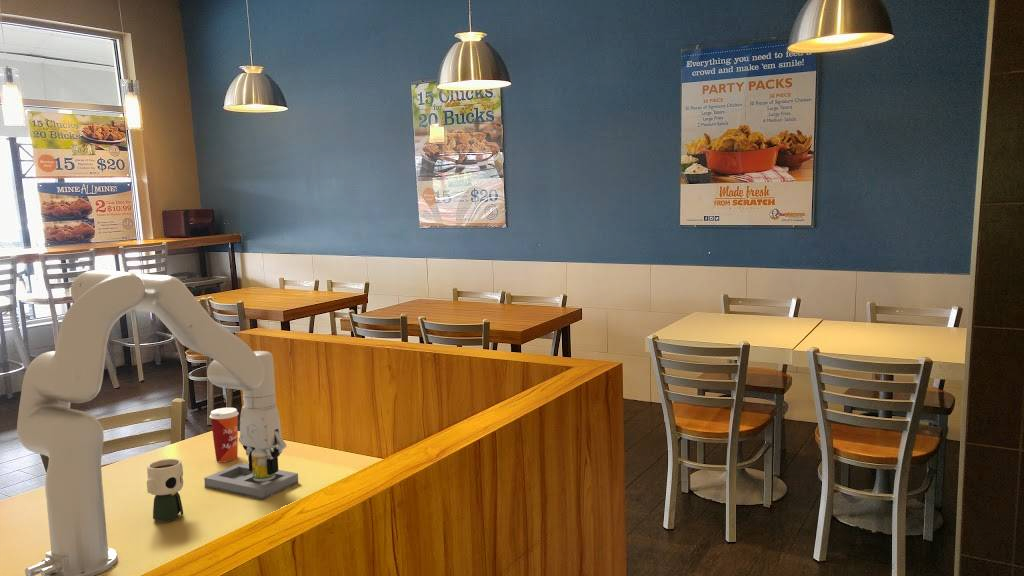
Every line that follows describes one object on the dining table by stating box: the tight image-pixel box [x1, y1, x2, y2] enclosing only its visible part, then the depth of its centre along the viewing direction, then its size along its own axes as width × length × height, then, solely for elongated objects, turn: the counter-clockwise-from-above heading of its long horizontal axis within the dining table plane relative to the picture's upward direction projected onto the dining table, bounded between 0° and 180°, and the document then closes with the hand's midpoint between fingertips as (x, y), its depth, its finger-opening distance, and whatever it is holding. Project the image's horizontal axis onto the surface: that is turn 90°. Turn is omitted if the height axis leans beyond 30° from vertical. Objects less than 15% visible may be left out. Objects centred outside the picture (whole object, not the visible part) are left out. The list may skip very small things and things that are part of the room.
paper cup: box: [209, 407, 240, 463], centre depth 205 cm, size 8×8×14 cm
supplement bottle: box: [252, 448, 275, 482], centre depth 182 cm, size 5×5×10 cm
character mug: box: [146, 458, 184, 523], centre depth 165 cm, size 11×7×13 cm, turn 166°
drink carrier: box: [203, 462, 299, 500], centre depth 185 cm, size 12×20×2 cm, turn 64°
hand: (263, 470), depth 183 cm, fingers closed on supplement bottle, 5 cm apart
